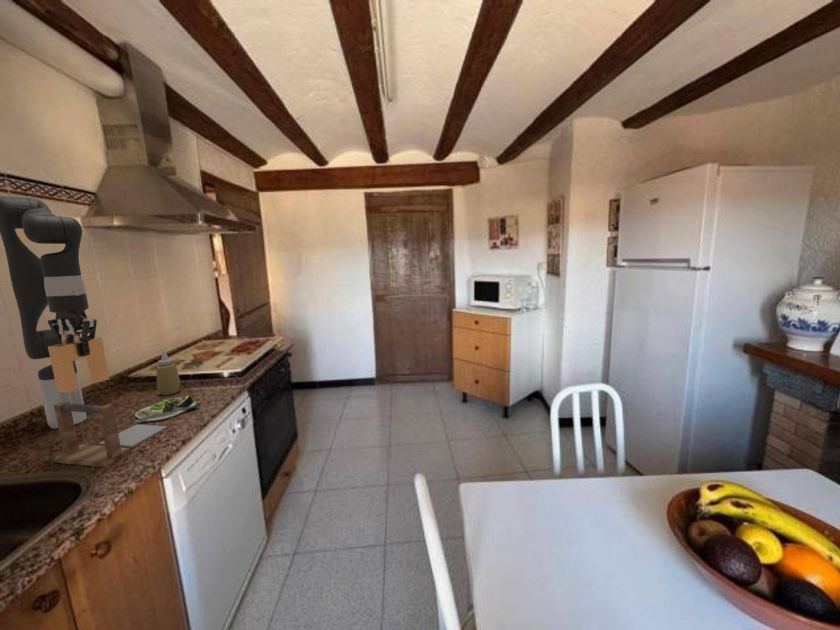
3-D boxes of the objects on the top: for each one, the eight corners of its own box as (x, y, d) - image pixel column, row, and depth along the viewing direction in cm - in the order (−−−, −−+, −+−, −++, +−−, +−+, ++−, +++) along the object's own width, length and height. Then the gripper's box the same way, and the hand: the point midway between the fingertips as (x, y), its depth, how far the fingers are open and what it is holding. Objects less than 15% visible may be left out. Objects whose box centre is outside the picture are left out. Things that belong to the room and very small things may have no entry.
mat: (99, 444, 106) (98, 443, 106) (137, 425, 118) (136, 424, 118) (132, 447, 104) (131, 445, 104) (167, 428, 116) (167, 426, 116)
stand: (55, 462, 97) (43, 408, 95) (83, 448, 104) (72, 398, 102) (105, 467, 94) (94, 412, 92) (130, 453, 101) (121, 401, 98)
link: (57, 392, 92) (47, 346, 90) (99, 378, 103) (91, 337, 100) (67, 392, 92) (58, 347, 90) (109, 378, 102) (101, 337, 100)
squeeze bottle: (170, 397, 142) (163, 354, 139) (153, 396, 143) (146, 354, 140) (186, 389, 150) (180, 349, 147) (170, 389, 151) (163, 348, 148)
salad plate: (150, 430, 115) (147, 417, 115) (119, 421, 123) (117, 409, 122) (206, 406, 133) (204, 395, 132) (176, 400, 140) (174, 389, 139)
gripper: (28, 294, 90) (42, 358, 93) (71, 295, 88) (84, 360, 91) (62, 291, 98) (74, 350, 101) (103, 291, 95) (114, 352, 98)
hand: (78, 355), depth 96 cm, fingers closed on link, 3 cm apart
